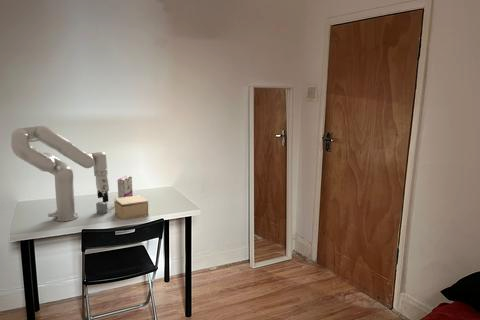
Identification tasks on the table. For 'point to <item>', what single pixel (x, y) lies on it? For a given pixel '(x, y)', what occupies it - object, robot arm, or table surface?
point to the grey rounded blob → (101, 208)
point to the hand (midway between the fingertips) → (103, 199)
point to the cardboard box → (131, 210)
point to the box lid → (130, 200)
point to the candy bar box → (125, 187)
